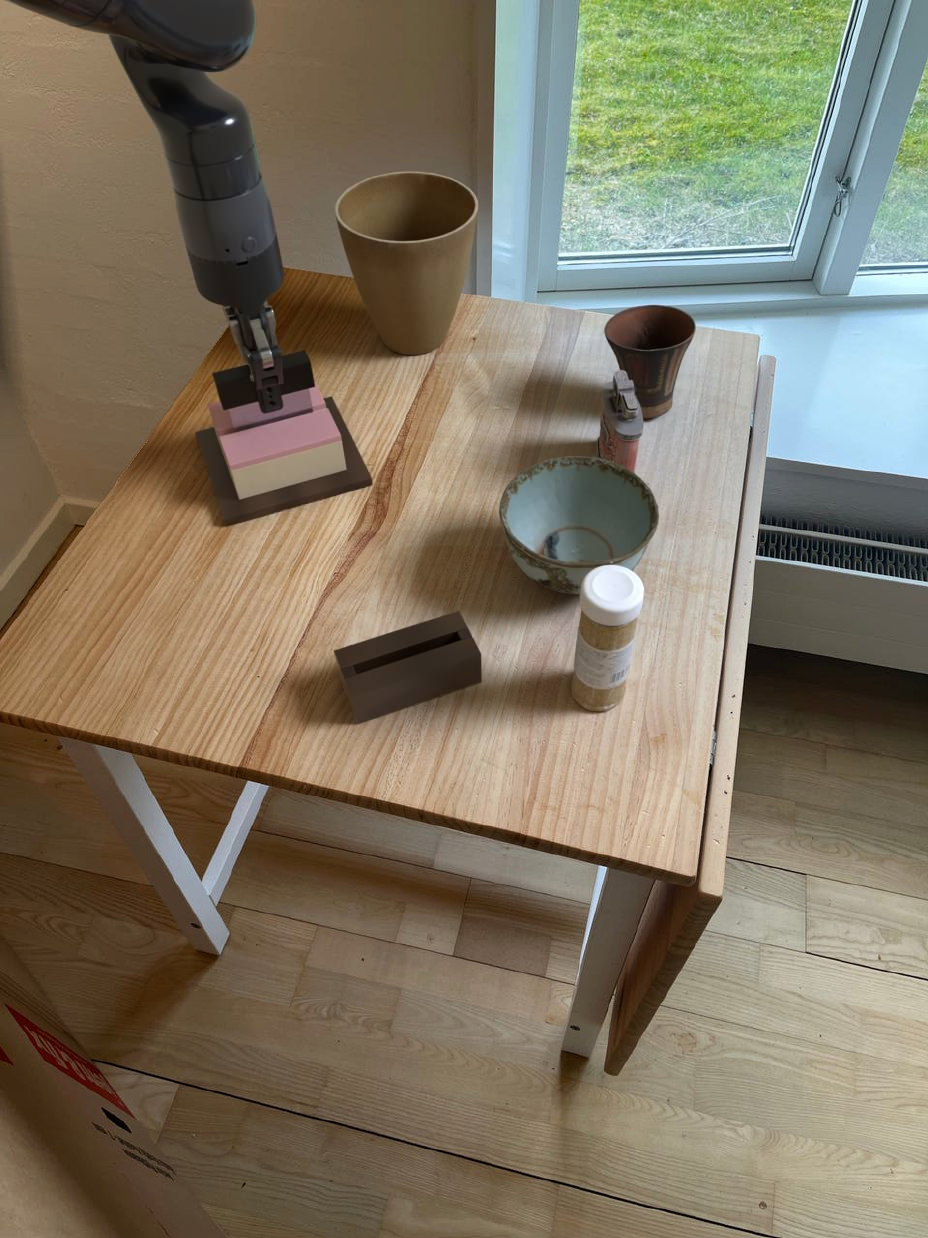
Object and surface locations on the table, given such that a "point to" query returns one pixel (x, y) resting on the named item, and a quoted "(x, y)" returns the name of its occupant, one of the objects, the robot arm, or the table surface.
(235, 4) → the robot arm
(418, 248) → the plant pot
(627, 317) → the cup
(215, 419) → the slice
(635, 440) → the lighter
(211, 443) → the cake board
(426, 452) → the table surface
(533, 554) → the bowl
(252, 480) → the cake
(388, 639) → the knife stand
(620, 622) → the sprinkles bottle
